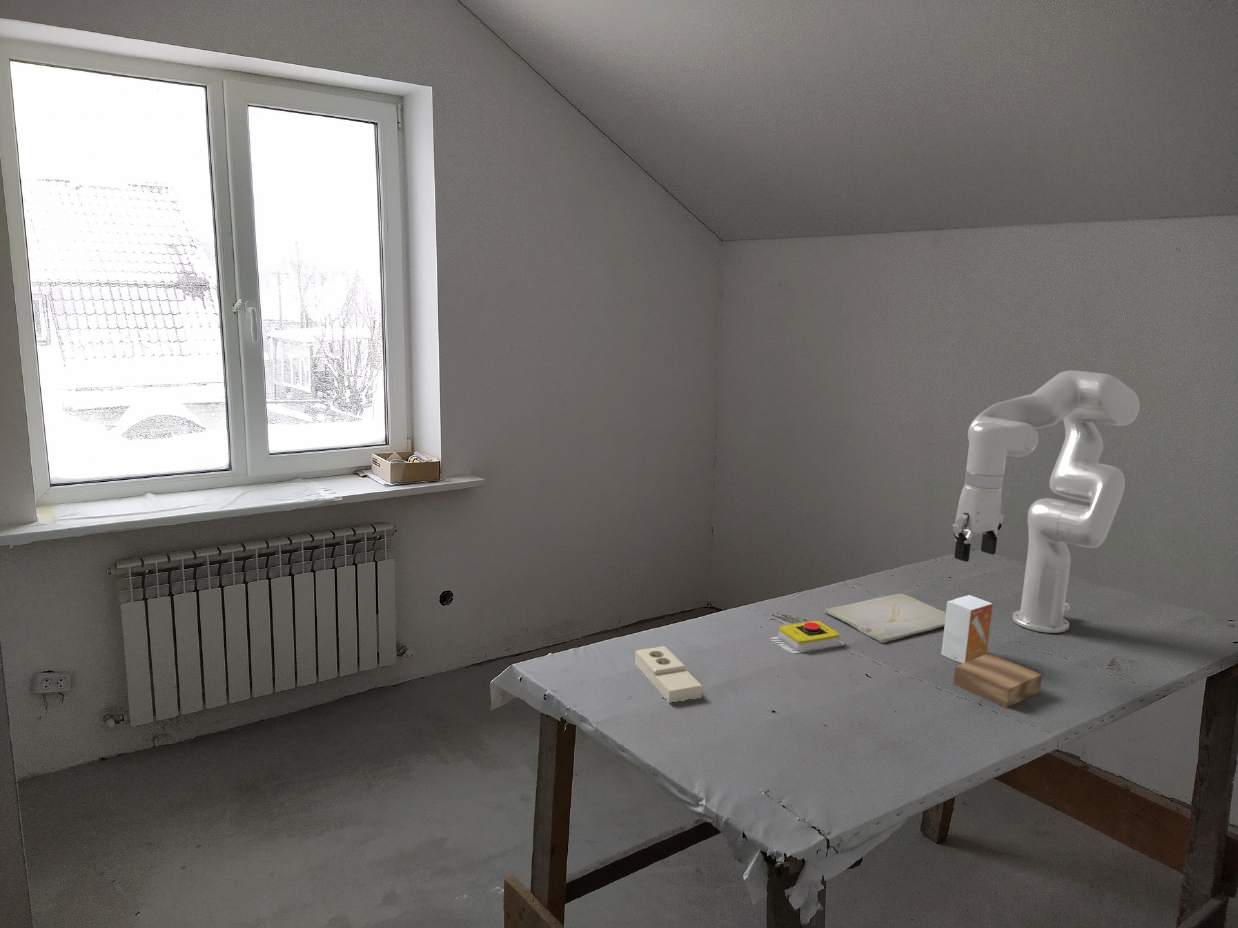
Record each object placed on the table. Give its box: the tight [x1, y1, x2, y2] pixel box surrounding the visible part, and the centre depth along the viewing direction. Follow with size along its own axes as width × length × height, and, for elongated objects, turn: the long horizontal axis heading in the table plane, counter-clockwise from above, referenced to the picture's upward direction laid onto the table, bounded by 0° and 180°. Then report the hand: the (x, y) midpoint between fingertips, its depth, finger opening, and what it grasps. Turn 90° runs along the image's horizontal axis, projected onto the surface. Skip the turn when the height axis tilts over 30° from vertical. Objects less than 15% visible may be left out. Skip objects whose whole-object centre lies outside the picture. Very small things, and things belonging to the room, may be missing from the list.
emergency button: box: [770, 620, 845, 655], centre depth 200 cm, size 9×4×15 cm
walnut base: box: [953, 652, 1043, 709], centre depth 179 cm, size 12×12×4 cm
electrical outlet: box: [634, 645, 703, 703], centre depth 180 cm, size 7×4×18 cm
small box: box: [941, 594, 994, 664], centre depth 193 cm, size 8×6×13 cm
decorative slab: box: [823, 593, 946, 644], centre depth 215 cm, size 27×21×2 cm
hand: (974, 556), depth 189 cm, fingers open, 9 cm apart
